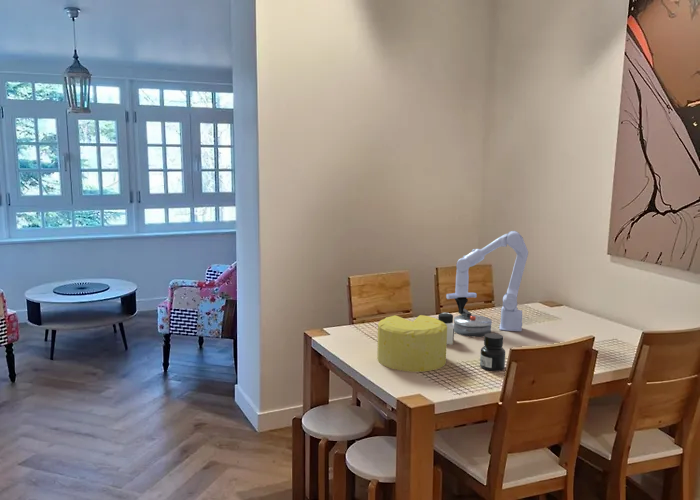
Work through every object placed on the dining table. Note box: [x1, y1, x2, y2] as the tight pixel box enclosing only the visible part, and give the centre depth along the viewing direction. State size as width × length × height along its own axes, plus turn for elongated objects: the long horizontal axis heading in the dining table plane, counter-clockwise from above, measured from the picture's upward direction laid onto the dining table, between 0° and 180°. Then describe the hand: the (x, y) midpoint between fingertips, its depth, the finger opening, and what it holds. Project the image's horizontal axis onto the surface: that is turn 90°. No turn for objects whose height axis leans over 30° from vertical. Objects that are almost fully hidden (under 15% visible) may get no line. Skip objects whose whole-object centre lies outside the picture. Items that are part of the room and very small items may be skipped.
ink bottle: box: [479, 332, 506, 372], centre depth 221 cm, size 10×9×12 cm
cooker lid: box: [453, 307, 493, 327], centre depth 269 cm, size 22×16×3 cm
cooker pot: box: [453, 321, 492, 338], centre depth 269 cm, size 20×16×4 cm
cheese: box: [376, 314, 448, 373], centre depth 228 cm, size 26×26×15 cm
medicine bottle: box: [437, 312, 455, 345], centre depth 251 cm, size 7×7×12 cm
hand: (460, 313), depth 276 cm, fingers closed
